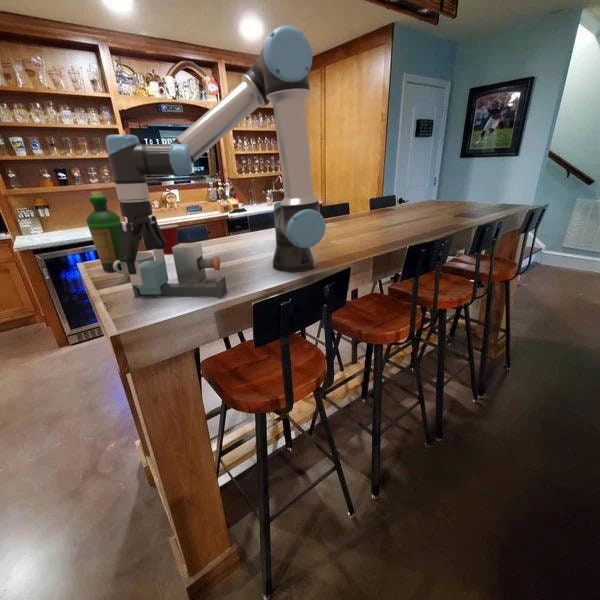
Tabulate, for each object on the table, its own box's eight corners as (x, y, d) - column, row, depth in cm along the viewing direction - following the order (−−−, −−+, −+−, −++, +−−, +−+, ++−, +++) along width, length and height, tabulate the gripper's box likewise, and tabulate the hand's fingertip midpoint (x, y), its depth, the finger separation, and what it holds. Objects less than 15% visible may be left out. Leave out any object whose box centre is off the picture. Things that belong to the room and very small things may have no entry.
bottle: (98, 269, 121) (75, 192, 111) (128, 263, 128) (110, 190, 117) (104, 275, 114) (80, 193, 103) (135, 269, 120) (116, 191, 109)
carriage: (170, 286, 97) (164, 260, 94) (158, 295, 91) (152, 267, 87) (151, 286, 98) (145, 261, 94) (138, 295, 91) (132, 268, 88)
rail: (227, 291, 95) (225, 275, 93) (221, 298, 90) (219, 281, 88) (144, 291, 97) (140, 276, 95) (135, 297, 93) (131, 281, 91)
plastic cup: (178, 248, 150) (173, 222, 145) (186, 252, 142) (181, 225, 137) (154, 252, 144) (148, 226, 139) (161, 257, 136) (155, 228, 131)
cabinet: (206, 278, 107) (201, 242, 103) (199, 284, 102) (193, 247, 97) (186, 278, 108) (180, 243, 103) (178, 284, 103) (171, 247, 98)
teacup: (149, 270, 118) (144, 249, 115) (164, 275, 112) (159, 253, 109) (109, 280, 109) (103, 257, 106) (123, 286, 102) (117, 262, 99)
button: (221, 267, 105) (219, 254, 103) (216, 272, 101) (214, 258, 99) (203, 268, 105) (201, 255, 103) (198, 272, 101) (196, 258, 99)
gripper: (146, 196, 96) (159, 264, 104) (88, 206, 73) (111, 292, 81) (170, 196, 95) (181, 264, 103) (119, 205, 72) (139, 292, 81)
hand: (150, 277), depth 92 cm, fingers open, 13 cm apart
